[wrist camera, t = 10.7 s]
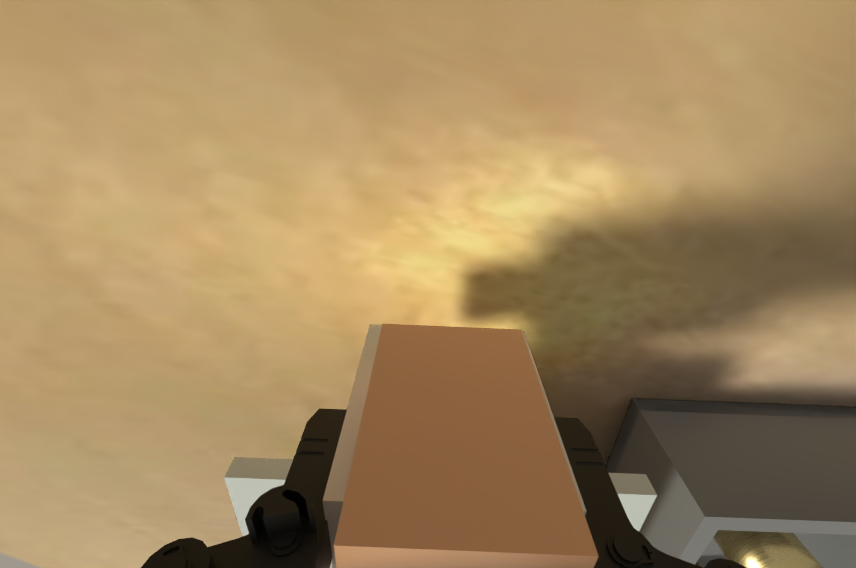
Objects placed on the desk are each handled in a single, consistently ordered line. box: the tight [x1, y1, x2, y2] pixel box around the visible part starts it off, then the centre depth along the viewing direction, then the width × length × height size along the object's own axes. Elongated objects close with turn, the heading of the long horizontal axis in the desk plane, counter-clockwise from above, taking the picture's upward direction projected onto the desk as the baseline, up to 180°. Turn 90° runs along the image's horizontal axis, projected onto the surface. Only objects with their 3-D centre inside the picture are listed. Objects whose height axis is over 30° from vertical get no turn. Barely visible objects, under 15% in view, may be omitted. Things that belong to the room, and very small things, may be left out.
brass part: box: [713, 530, 823, 568], centre depth 21 cm, size 4×4×4 cm
